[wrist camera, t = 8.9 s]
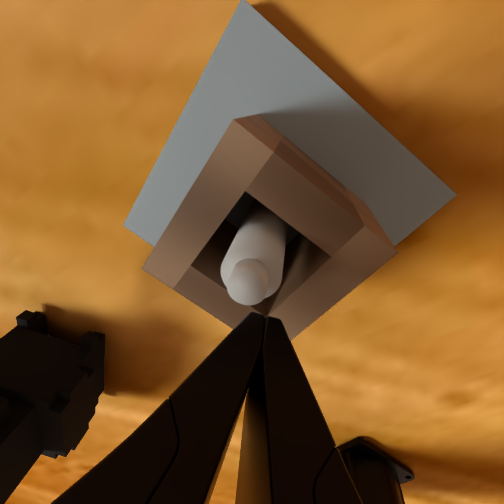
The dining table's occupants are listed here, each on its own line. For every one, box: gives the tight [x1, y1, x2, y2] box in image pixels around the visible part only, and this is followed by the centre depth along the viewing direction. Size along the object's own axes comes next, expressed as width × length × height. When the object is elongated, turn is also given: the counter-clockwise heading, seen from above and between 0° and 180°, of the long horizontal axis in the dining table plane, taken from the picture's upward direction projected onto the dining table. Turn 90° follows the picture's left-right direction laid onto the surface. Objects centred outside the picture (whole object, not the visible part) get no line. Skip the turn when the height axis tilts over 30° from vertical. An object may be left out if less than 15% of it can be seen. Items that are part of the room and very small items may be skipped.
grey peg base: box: [123, 0, 457, 305], centre depth 12 cm, size 12×12×8 cm
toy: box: [0, 310, 105, 504], centre depth 18 cm, size 8×14×10 cm, turn 164°
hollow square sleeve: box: [141, 114, 398, 341], centre depth 12 cm, size 6×6×5 cm
